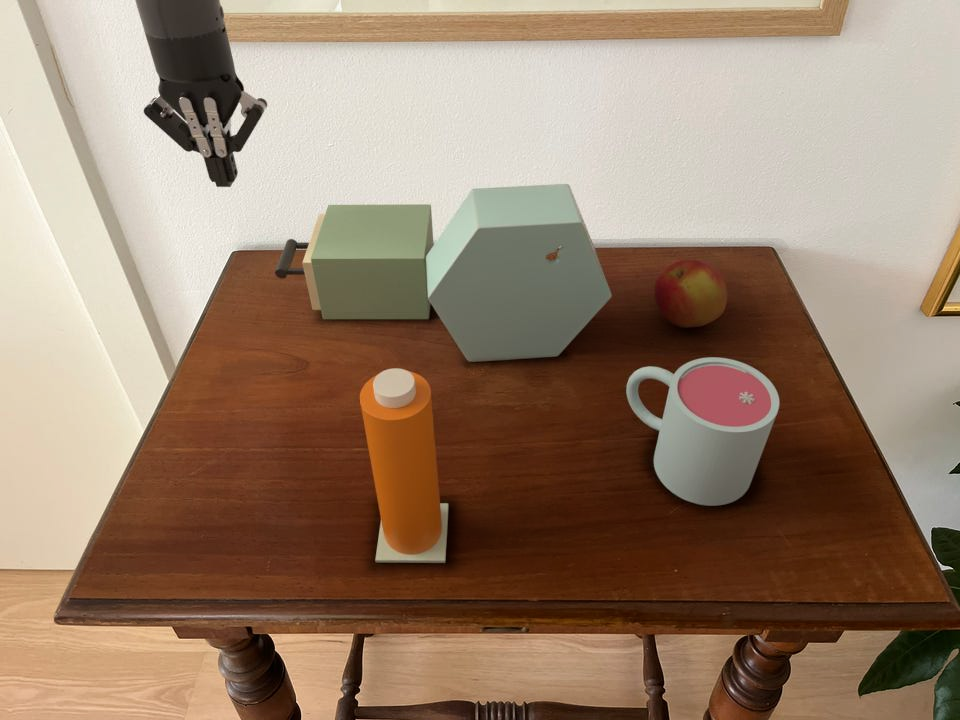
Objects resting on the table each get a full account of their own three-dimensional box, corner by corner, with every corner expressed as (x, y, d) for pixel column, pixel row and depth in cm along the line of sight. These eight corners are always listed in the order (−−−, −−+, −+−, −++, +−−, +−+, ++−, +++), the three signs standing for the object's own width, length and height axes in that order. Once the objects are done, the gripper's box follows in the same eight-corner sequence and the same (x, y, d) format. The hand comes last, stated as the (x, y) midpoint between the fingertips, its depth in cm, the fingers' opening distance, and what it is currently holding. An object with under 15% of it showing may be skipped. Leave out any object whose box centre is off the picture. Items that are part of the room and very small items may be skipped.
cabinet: (322, 319, 87) (310, 258, 81) (338, 263, 96) (328, 204, 90) (428, 319, 87) (424, 258, 81) (434, 263, 96) (430, 204, 90)
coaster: (375, 562, 62) (375, 560, 62) (383, 505, 67) (383, 502, 67) (445, 563, 62) (445, 560, 62) (448, 505, 67) (448, 503, 66)
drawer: (277, 310, 87) (265, 262, 82) (295, 260, 95) (285, 213, 90) (408, 310, 87) (403, 262, 82) (415, 259, 95) (411, 213, 90)
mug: (768, 461, 70) (797, 387, 63) (723, 522, 65) (749, 449, 58) (645, 397, 77) (659, 324, 70) (595, 447, 72) (606, 374, 65)
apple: (671, 293, 90) (682, 238, 85) (731, 320, 86) (746, 264, 81) (637, 322, 86) (647, 266, 81) (698, 352, 82) (712, 295, 77)
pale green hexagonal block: (521, 344, 90) (629, 218, 79) (530, 387, 84) (647, 258, 74) (401, 291, 83) (501, 144, 72) (402, 334, 77) (510, 182, 67)
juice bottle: (372, 541, 64) (343, 394, 51) (402, 497, 67) (382, 350, 55) (424, 563, 62) (407, 417, 50) (452, 517, 65) (442, 370, 53)
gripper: (100, 34, 68) (156, 200, 79) (241, 34, 67) (276, 200, 79) (130, 10, 73) (178, 168, 85) (260, 10, 73) (291, 168, 85)
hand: (226, 183), depth 82 cm, fingers closed
